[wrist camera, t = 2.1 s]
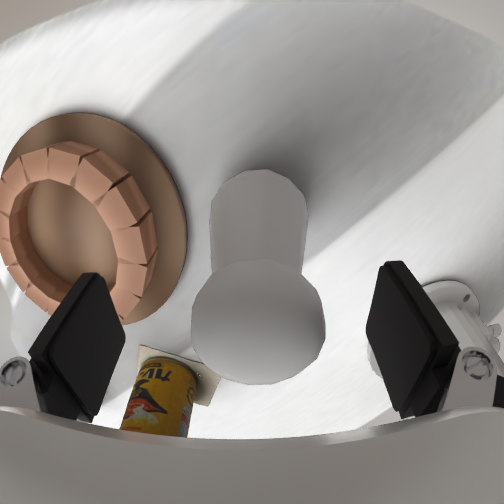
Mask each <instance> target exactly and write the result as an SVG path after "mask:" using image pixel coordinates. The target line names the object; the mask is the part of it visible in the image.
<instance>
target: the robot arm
mask: <svg viewBox="0 0 504 504" xmlns="http://www.w3.org/2000/svg"><path fill="white" fill-rule="evenodd" d="M479 313H480V308H479V302H478V299H477V297H476V296H475V294H474V293H473V292H472V290H471V289H470V288H469V287H468V286H466V285H465V284H463V283H460V282H457V281H439V282H436V283H432V284H429V285H426V286H424V287H422V286H421V285H420V284H419V282H418V281H417V280H416V278H415V277H414V276H413V274H412V273H411V272H410V270H409V269H408V268H407V266H406V265H405V264H404V262H403V261H386V262H385V263H384V266H381V267H380V268H379V272H378V277H377V281H376V286H375V291H374V295H373V299H372V304H371V308H370V312H369V316H368V320H367V324H366V335H367V338H368V341H369V344H368V352H367V353H368V359H369V362H370V365H371V367H372V370H373V371H374V372H375V373H376V375H378V376H379V377H381V378H383V380H384V383H385V386H386V388H387V391H388V394H389V397H390V400H391V403H392V406H393V408H394V410H395V411H396V412H397V411H399V413H400V416H401V419H404V418H407V420H403V421H398V422H394V423H389V424H384V425H379V426H373V427H368V428H362V429H357V430H351V431H344V432H337V433H330V434H322V435H313V436H303V437H291V438H274V439H200V438H185V437H173V436H163V435H154V434H146V433H138V432H131V431H125V430H119V429H113V428H108V427H103V426H98V425H93V424H88V423H92V421H93V418H94V416H96V415H97V414H98V413H99V410H100V407H101V404H102V401H103V399H104V396H105V393H106V390H107V388H108V385H109V382H110V379H111V377H112V374H113V371H114V369H115V366H116V364H117V361H118V359H119V356H120V354H121V351H122V349H123V346H124V344H125V332H124V330H123V327H122V325H121V322H120V320H119V317H118V314H117V312H116V309H115V307H114V304H113V301H112V298H111V295H110V293H109V290H108V287H107V284H106V281H105V279H104V277H102V276H101V275H100V274H99V273H97V272H88V273H82V274H81V276H80V277H79V278H78V280H77V281H76V282H75V284H74V285H73V286H72V288H71V289H70V290H69V292H68V293H67V294H66V296H65V297H64V299H63V300H62V301H61V303H60V304H59V306H58V307H57V308H56V310H55V311H54V313H53V314H52V316H51V317H50V319H49V320H48V322H47V323H46V325H45V326H44V328H43V329H42V331H41V332H40V334H39V335H38V337H37V338H36V340H35V342H34V343H33V345H32V346H31V348H30V350H29V351H28V353H29V355H30V356H31V360H30V362H29V361H28V360H27V359H26V358H24V357H14V358H11V359H10V360H8V361H7V362H6V363H4V364H3V366H2V367H1V368H0V504H504V363H503V361H502V360H501V358H500V357H499V355H498V354H497V353H498V352H499V350H500V342H499V339H498V338H496V337H497V336H499V335H500V334H501V327H500V325H499V324H494V325H490V326H488V327H486V326H485V325H484V323H483V322H482V321H481V319H480V318H479ZM77 419H78V420H80V421H84V422H88V423H84V422H79V421H76V420H77Z"/></svg>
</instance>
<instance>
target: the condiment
mask: <svg viewBox="0 0 504 504" xmlns="http://www.w3.org/2000/svg"><path fill="white" fill-rule="evenodd" d="M196 373H198V374H196ZM199 375H201V377H200V376H199ZM220 378H221V376H220V375H219V374H217V373H216V372H214V371H213V370H211V369H210V368H209V367H207V366H206V365H204V364H201V363H198V362H193V361H190V360H187V359H184V358H181V357H178V356H175V355H171V354H168V353H165V352H162V351H159V350H154V349H152V348H149V347H145V346H139V358H138V370H137V379H136V382H135V384H134V386H133V390H132V393H131V396H130V399H129V402H128V404H127V408H126V411H125V414H124V417H123V421H122V424H121V427H120V429H119V430H125V431H131V432H138V433H146V434H154V435H163V436H173V437H185V438H187V435H188V429H189V423H190V418H191V413H192V408H193V402H194V403H196V404H199V405H204V406H209V404H210V401H211V399H212V397H213V394H214V392H215V390H216V387H217V385H218V383H219V381H220Z"/></svg>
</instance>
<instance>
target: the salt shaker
mask: <svg viewBox="0 0 504 504" xmlns="http://www.w3.org/2000/svg"><path fill="white" fill-rule="evenodd" d="M308 217H309V216H308V211H307V206H306V202H305V197H304V195H303V194H302V193H301V192H300V190H299V189H298V188H297V187H296V186H295V185H294V184H293V183H292V182H291V181H290V180H289V179H288V178H286V177H284V176H282V175H279V174H277V173H275V172H272V171H270V170H268V169H263V170H249V171H243V172H242V173H240V174H238V175H236V176H234V177H232V178H230V179H229V180H227V181H225V182H224V183H223V185H222V186H221V188H220V189H219V191H218V192H217V194H216V195H215V197H214V198H213V200H212V203H211V211H210V220H209V225H210V247H211V266H212V275H211V276H210V277H209V279H208V280H207V282H206V283H205V284H204V286H203V287H202V289H201V290H200V291H199V293H198V294H197V296H196V299H195V301H194V304H193V307H192V320H191V345H192V346H193V348H194V350H195V351H196V353H197V355H198V356H199V358H200V359H201V361H202V363H204V364H205V365H206V366H207V367H209V368H210V369H211V370H213V371H214V372H216V373H217V374H219V375H220V376H222V377H223V378H225V379H227V380H230V381H234V382H238V383H242V384H246V385H268V384H274V383H277V382H280V381H283V380H286V379H289V378H292V377H294V376H295V375H297V374H298V373H299V372H301V371H302V370H303V369H305V368H306V367H307V366H308V365H310V364H311V363H312V362H313V361H315V360H316V359H317V357H318V355H319V353H320V350H321V348H322V346H323V343H324V341H325V319H324V313H323V308H322V303H321V300H320V297H319V295H318V292H317V290H316V289H315V288H314V287H313V286H312V285H311V284H310V283H309V282H308V281H307V280H306V279H305V278H304V277H303V276H302V275H301V272H302V265H303V257H304V250H305V242H306V234H307V225H308Z"/></svg>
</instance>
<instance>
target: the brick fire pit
mask: <svg viewBox="0 0 504 504" xmlns="http://www.w3.org/2000/svg"><path fill="white" fill-rule="evenodd" d="M186 252H187V224H186V218H185V213H184V208H183V204H182V201H181V198H180V195H179V192H178V189H177V187H176V185H175V183H174V181H173V179H172V176H171V174H170V173H169V171H168V170H167V168H166V166H165V165H164V163H163V162H162V160H161V159H160V157H159V156H158V155H157V154H156V153H155V151H154V150H153V149H152V148H151V147H150V146H149V145H148V144H147V143H146V142H145V141H144V140H143V139H142V138H141V137H140V136H139V135H138V134H136V133H135V132H133V131H132V130H130V129H129V128H128V127H126V126H125V125H123V124H121V123H119V122H117V121H115V120H113V119H110V118H107V117H104V116H100V115H97V114H89V113H70V114H64V115H60V116H55V117H51V118H49V119H47V120H44V121H42V122H40V123H38V124H37V125H35V126H34V127H32V128H31V129H29V130H28V131H27V132H26V133H25V134H24V135H23V136H22V137H21V138H20V139H19V141H18V142H17V143H16V144H15V146H14V147H13V149H12V150H11V152H10V154H9V156H8V158H7V160H6V163H5V165H4V168H3V171H2V175H1V179H0V253H1V256H2V258H3V261H4V264H5V266H9V267H8V268H7V270H8V271H9V273H10V274H11V276H12V277H13V279H14V280H15V282H16V283H17V284H18V286H19V287H20V289H21V290H22V291H25V290H26V292H25V295H26V296H27V297H29V298H30V299H31V300H32V301H33V302H34V303H35V304H37V305H38V306H39V307H40V308H41V309H42V310H44V311H45V312H46V311H47V310H48V314H49V315H52V314H53V313H54V311H55V310H56V308H57V307H58V306H59V304H60V303H61V301H62V300H63V299H64V297H65V296H66V294H67V293H68V292H69V290H70V289H71V288H72V286H73V285H74V284H75V282H76V281H77V280H78V278H79V277H80V276H81V274H82V273H88V272H97V273H99V274H100V275H101V276H102V277H104V279H105V281H106V284H107V287H108V290H109V293H110V295H111V298H112V301H113V304H114V307H115V309H116V312H117V314H118V317H119V320H120V322H121V325H127V324H131V323H134V322H137V321H140V320H142V319H144V318H146V317H148V316H150V315H151V314H153V313H154V312H156V311H157V310H158V309H159V308H160V307H161V306H162V305H163V304H164V303H165V302H166V301H167V299H168V298H169V297H170V295H171V294H172V292H173V290H174V288H175V286H176V285H177V282H178V280H179V277H180V274H181V272H182V269H183V266H184V262H185V257H186Z"/></svg>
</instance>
